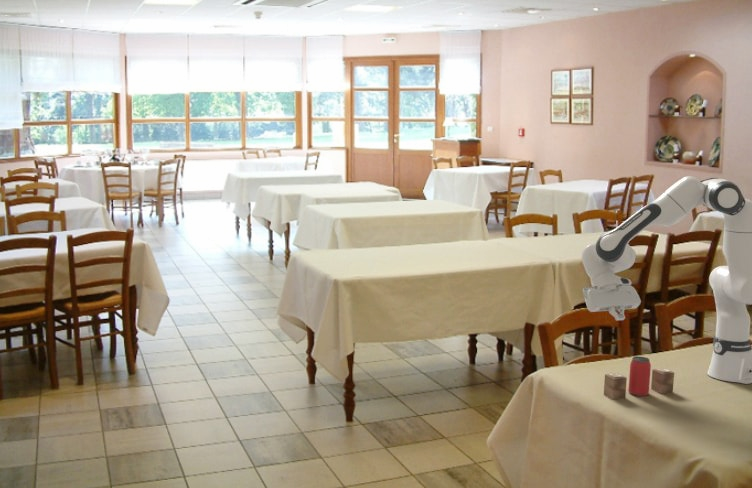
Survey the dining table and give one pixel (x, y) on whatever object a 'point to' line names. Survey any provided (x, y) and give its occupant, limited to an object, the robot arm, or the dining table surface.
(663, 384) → the walnut block
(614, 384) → the walnut block
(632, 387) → the beer can
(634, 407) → the dining table surface
